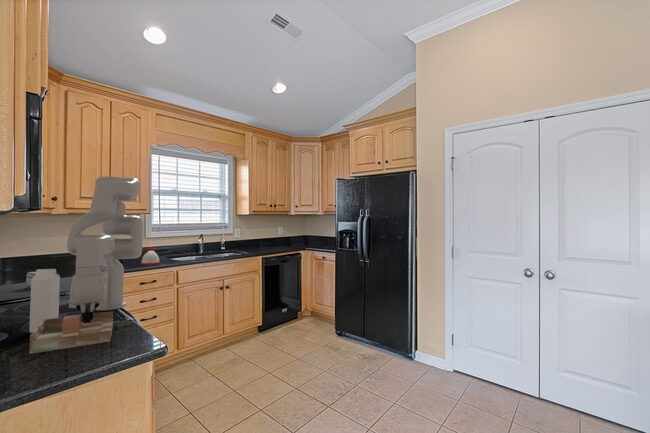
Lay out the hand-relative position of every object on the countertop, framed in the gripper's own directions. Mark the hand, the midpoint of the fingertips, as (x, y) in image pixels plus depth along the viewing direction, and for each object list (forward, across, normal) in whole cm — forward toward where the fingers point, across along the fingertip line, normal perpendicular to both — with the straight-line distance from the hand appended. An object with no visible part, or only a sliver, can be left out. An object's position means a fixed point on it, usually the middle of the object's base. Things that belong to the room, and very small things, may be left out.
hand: (87, 322), depth 110 cm
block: (+1, +4, 0) cm, 5 cm away
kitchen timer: (+3, -30, -174) cm, 177 cm away
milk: (+4, +14, -12) cm, 19 cm away
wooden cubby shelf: (+4, +3, +4) cm, 6 cm away
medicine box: (+4, +32, -98) cm, 104 cm away
